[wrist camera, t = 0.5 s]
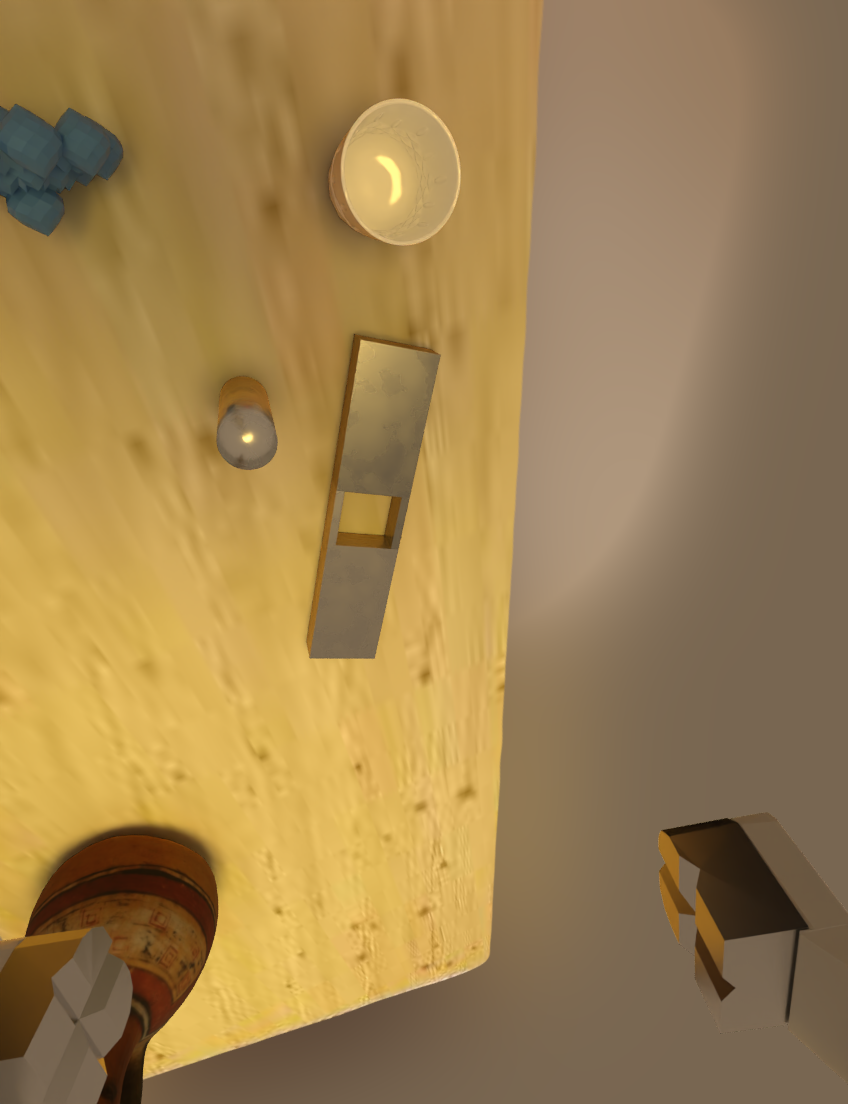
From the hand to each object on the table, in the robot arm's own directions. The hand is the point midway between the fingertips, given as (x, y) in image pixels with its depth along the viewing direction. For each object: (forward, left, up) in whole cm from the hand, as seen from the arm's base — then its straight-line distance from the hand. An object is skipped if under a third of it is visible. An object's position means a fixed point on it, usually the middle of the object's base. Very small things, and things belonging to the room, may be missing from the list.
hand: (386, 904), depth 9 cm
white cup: (-14, +7, -48) cm, 51 cm away
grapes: (-9, -15, -48) cm, 51 cm away
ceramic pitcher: (+64, -9, -48) cm, 81 cm away
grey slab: (+13, +11, -48) cm, 51 cm away
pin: (+4, -1, -48) cm, 48 cm away
